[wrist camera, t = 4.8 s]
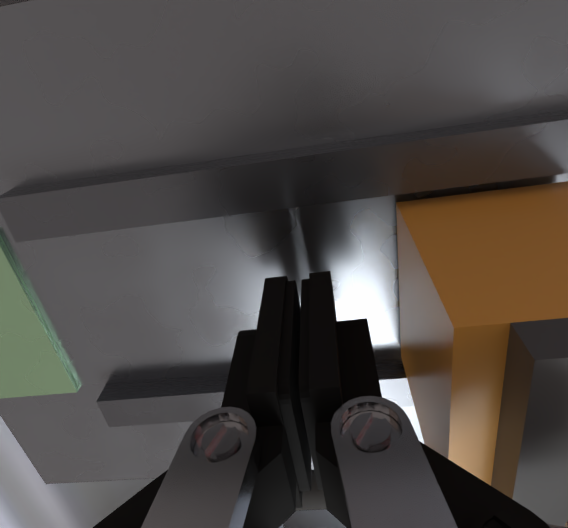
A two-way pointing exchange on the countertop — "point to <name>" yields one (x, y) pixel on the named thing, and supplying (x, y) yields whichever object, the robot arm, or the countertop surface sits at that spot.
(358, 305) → the breaker panel
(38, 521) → the countertop surface
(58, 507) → the countertop surface
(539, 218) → the orange box grey panel
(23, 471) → the countertop surface
